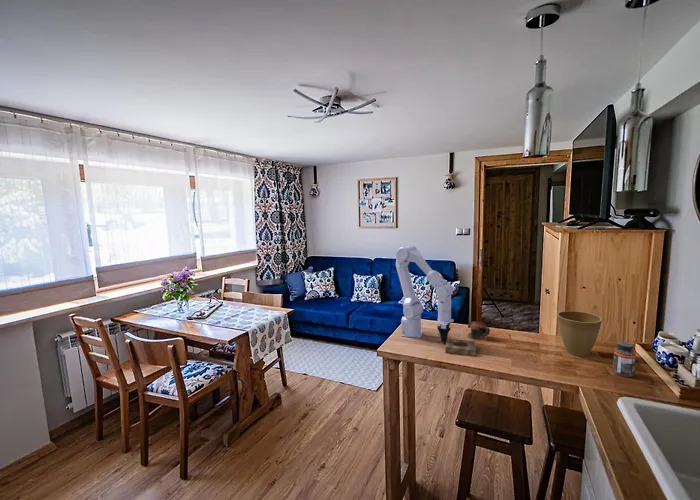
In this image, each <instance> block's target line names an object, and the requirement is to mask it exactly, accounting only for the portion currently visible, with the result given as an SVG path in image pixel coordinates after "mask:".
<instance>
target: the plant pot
mask: <svg viewBox="0 0 700 500" xmlns="http://www.w3.org/2000/svg"><path fill="white" fill-rule="evenodd" d="M556 316H557V321H558V328H559V332H560V335H561V339H562V342H563V345H564V348H565V351H566V352H567V353H568V354H569V355H571V356H574V357H575V356H576V357H580V358H581V357H582V358H585V357H589V355H590V354H591V352H592V350H593V348H594V346H595V344H596V341H597V339H598V336H599V333H600V331H601V324H602V322H603V321H602V320H603V319H602V317H601V316H599V315H597V314H593V313H589V312H586V311H577V310H563V311H559V312H557V315H556Z"/></svg>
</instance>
